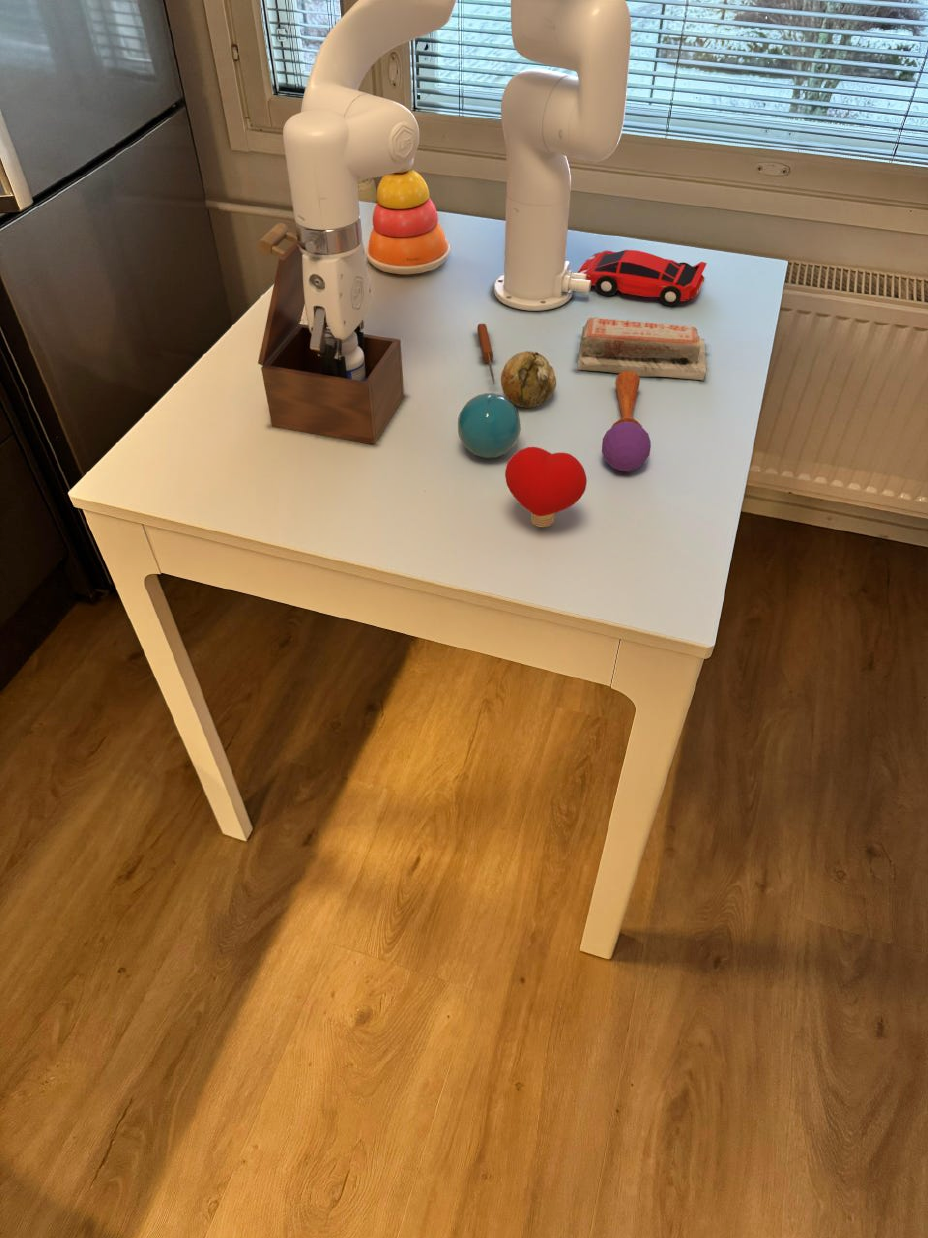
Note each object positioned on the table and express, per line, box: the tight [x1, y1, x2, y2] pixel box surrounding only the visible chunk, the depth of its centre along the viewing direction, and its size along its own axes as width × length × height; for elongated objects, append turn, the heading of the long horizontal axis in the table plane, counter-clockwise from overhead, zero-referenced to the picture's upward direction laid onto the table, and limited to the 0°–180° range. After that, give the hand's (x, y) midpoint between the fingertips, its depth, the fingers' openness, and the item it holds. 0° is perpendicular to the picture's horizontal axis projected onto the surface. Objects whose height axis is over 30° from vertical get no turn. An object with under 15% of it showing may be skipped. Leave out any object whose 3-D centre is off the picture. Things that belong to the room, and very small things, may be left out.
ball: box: [457, 392, 522, 459], centre depth 114 cm, size 8×8×8 cm
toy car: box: [577, 249, 708, 308], centre depth 146 cm, size 10×20×5 cm, turn 72°
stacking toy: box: [365, 156, 451, 275], centre depth 147 cm, size 14×14×20 cm
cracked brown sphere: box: [500, 350, 557, 409], centre depth 123 cm, size 8×8×8 cm
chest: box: [260, 323, 405, 446], centre depth 121 cm, size 15×12×9 cm
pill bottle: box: [326, 331, 366, 382], centre depth 119 cm, size 5×5×10 cm
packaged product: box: [577, 316, 707, 381], centre depth 131 cm, size 18×5×10 cm
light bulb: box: [504, 446, 588, 528], centre depth 104 cm, size 9×7×10 cm
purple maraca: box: [601, 371, 652, 472], centre depth 118 cm, size 6×6×20 cm
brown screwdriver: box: [477, 323, 495, 384], centre depth 132 cm, size 16×1×2 cm, turn 6°
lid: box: [256, 222, 305, 367], centre depth 113 cm, size 15×12×5 cm
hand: (344, 369), depth 119 cm, fingers closed on pill bottle, 5 cm apart
